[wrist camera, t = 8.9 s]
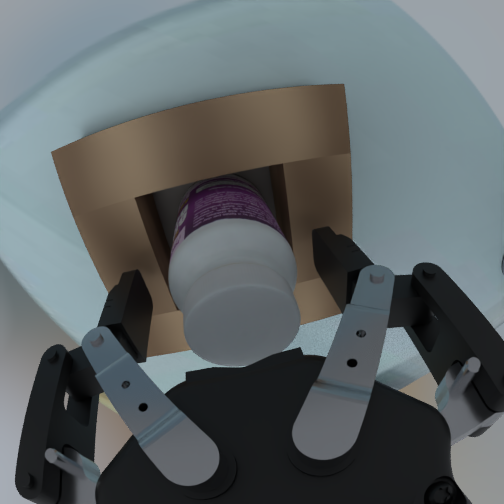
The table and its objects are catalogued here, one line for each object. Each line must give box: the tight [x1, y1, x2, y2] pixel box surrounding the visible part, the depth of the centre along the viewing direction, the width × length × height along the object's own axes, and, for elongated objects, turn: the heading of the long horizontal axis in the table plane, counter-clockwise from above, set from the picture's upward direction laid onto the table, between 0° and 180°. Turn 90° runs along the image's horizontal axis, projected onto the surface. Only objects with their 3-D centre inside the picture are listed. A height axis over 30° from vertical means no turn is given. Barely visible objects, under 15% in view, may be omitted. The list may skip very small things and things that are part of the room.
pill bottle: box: [168, 174, 301, 366], centre depth 13 cm, size 5×5×10 cm
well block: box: [51, 84, 352, 357], centre depth 16 cm, size 14×14×4 cm
